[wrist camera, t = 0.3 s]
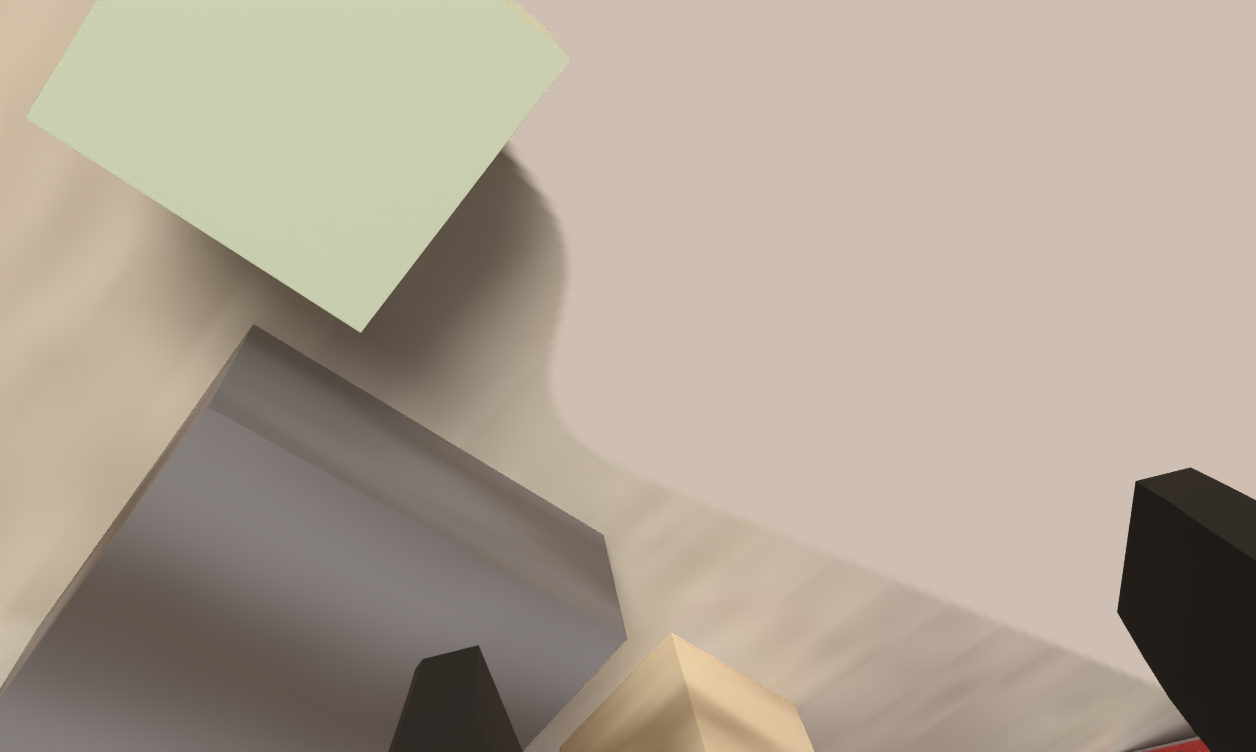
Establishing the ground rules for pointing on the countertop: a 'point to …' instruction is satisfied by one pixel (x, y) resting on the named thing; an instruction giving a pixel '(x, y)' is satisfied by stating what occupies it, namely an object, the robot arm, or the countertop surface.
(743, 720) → the birch cube
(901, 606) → the countertop surface
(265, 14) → the sage cube
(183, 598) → the charcoal slab
